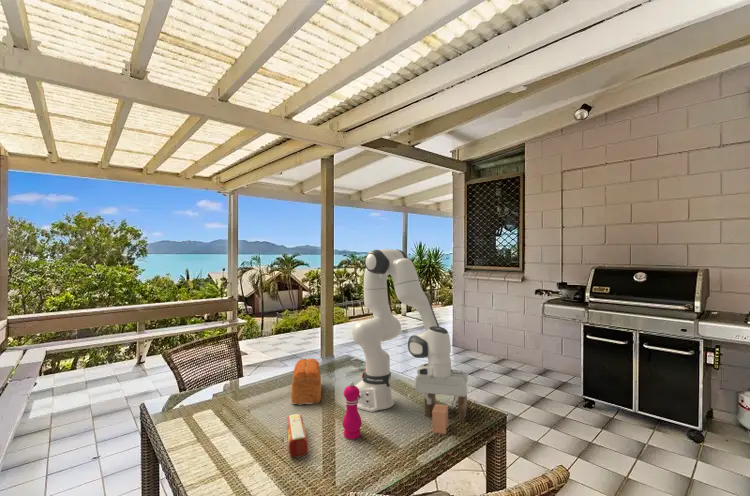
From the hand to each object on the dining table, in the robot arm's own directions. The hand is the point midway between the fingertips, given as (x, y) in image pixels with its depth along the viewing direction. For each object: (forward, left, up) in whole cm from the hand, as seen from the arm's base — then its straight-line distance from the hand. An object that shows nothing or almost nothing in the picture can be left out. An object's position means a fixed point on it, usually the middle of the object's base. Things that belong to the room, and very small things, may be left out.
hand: (441, 405), depth 135 cm
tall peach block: (-1, 0, -9) cm, 9 cm away
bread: (-69, +15, -10) cm, 72 cm away
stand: (-1, +16, -9) cm, 19 cm away
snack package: (-49, -26, -10) cm, 56 cm away
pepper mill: (-32, -15, -10) cm, 36 cm away
